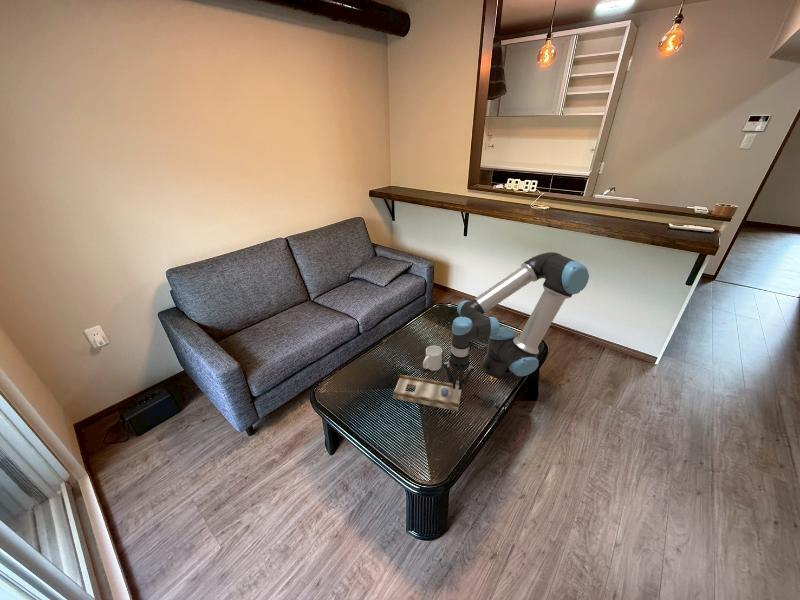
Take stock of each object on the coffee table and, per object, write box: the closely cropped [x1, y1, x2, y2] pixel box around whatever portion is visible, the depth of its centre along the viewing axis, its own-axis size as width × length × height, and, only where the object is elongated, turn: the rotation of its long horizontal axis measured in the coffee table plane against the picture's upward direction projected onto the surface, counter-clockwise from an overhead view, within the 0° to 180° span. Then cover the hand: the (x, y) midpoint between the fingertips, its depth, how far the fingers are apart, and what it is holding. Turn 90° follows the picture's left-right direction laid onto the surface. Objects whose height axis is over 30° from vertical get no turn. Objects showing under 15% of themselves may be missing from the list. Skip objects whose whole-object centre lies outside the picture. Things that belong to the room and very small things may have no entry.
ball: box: [441, 387, 449, 395], centre depth 137 cm, size 4×4×4 cm
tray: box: [392, 374, 462, 412], centre depth 141 cm, size 30×12×4 cm, turn 74°
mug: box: [422, 345, 443, 372], centre depth 156 cm, size 12×8×10 cm
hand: (456, 393), depth 136 cm, fingers closed
